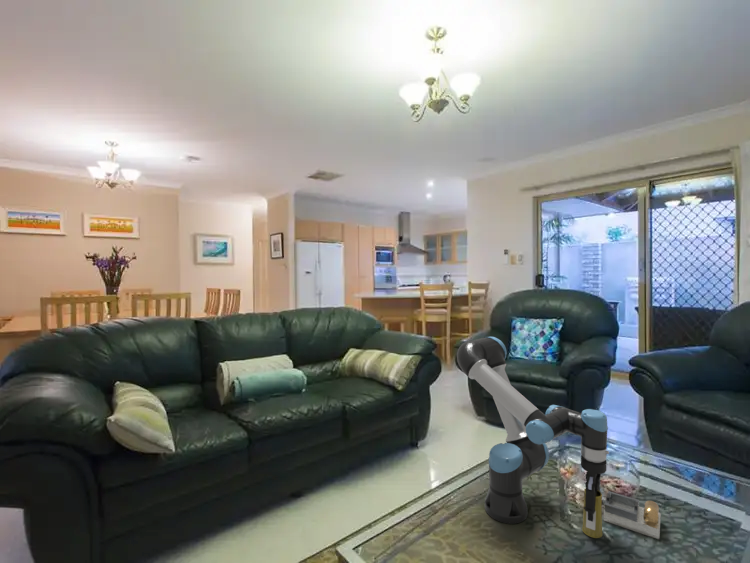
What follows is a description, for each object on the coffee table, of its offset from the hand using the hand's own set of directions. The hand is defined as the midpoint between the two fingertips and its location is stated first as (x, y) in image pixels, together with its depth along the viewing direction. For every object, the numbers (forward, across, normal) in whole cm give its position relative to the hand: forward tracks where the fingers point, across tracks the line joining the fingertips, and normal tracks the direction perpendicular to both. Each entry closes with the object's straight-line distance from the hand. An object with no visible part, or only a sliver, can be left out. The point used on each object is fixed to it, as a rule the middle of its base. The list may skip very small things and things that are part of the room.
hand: (592, 522), depth 133 cm
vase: (+4, 0, 0) cm, 4 cm away
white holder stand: (+4, +14, -10) cm, 18 cm away
